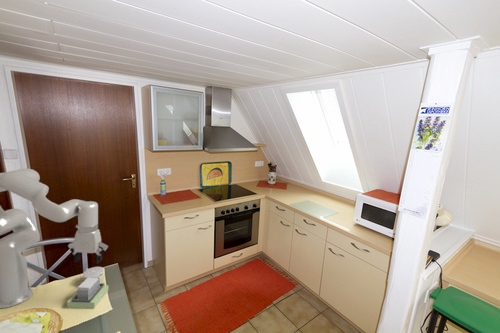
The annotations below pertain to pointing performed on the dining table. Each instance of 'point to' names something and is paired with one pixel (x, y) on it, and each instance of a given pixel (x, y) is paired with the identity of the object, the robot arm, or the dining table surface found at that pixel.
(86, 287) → the grey small block
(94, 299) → the shallow green tray
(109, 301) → the dining table surface
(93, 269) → the showerhead
